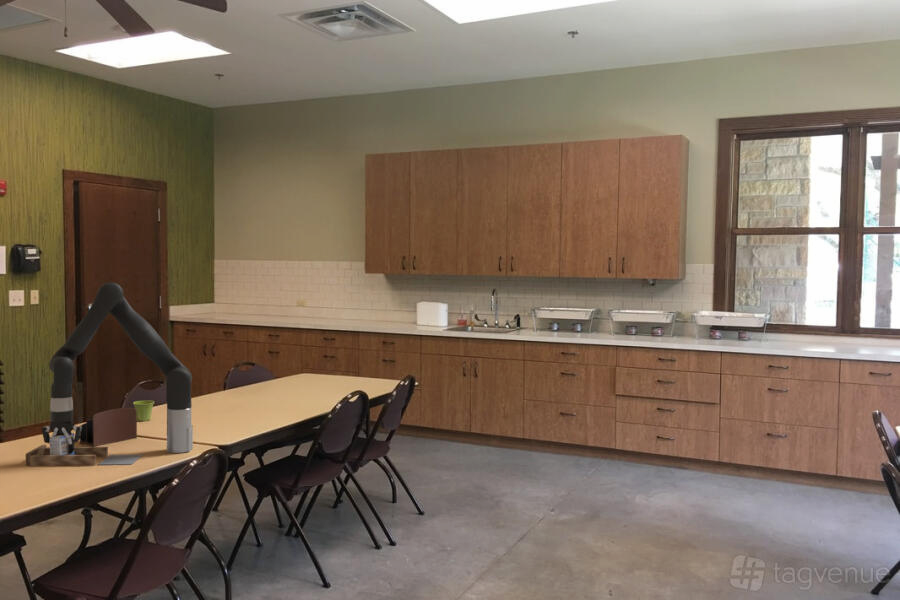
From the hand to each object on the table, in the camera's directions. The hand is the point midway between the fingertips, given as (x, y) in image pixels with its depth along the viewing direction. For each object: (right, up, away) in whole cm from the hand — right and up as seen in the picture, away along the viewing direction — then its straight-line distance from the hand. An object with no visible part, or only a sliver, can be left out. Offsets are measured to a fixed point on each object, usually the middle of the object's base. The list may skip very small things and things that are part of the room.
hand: (62, 453), depth 277 cm
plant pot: (-1, 0, +75) cm, 75 cm away
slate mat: (+21, -3, +2) cm, 21 cm away
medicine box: (0, -2, 0) cm, 2 cm away
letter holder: (+2, -2, +33) cm, 33 cm away
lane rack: (+2, -3, 0) cm, 3 cm away
